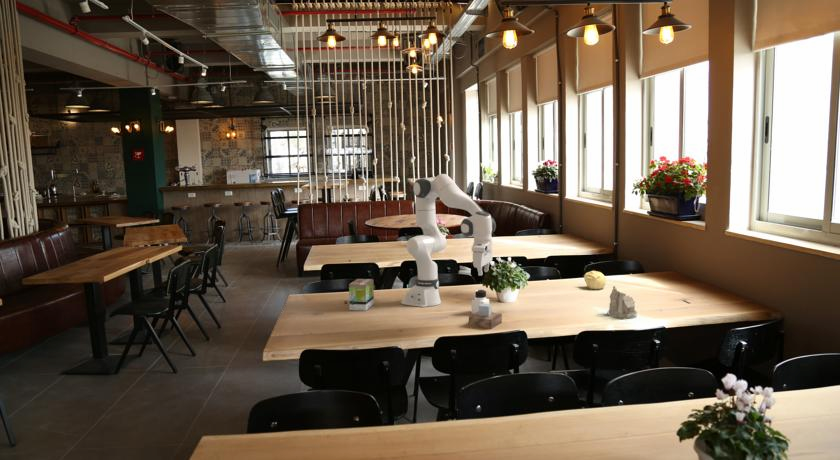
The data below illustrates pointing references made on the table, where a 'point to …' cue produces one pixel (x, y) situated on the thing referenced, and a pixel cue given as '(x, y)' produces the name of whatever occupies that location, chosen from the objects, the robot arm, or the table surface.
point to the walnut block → (485, 320)
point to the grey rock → (621, 305)
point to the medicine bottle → (478, 300)
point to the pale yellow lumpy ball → (595, 280)
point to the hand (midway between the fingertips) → (483, 273)
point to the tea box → (361, 294)
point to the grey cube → (485, 310)
